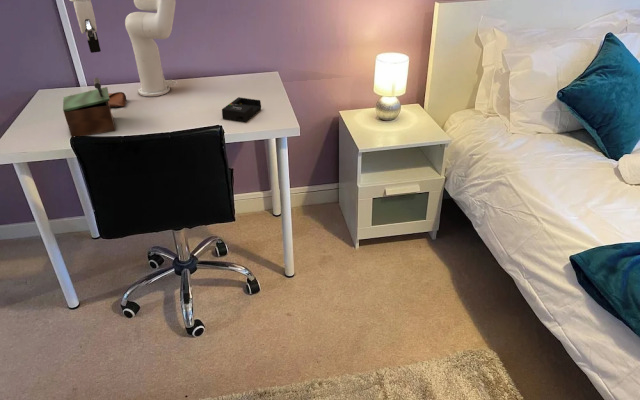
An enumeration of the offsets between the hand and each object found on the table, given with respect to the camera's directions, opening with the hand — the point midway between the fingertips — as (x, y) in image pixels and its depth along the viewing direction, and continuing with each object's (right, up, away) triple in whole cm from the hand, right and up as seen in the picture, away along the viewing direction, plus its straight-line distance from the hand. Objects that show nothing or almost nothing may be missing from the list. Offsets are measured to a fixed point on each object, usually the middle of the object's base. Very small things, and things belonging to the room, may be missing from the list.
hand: (95, 48), depth 164 cm
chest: (-5, -26, +9) cm, 27 cm away
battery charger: (+47, -20, +18) cm, 54 cm away
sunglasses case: (-9, -15, +25) cm, 31 cm away
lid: (-4, -17, +3) cm, 18 cm away
